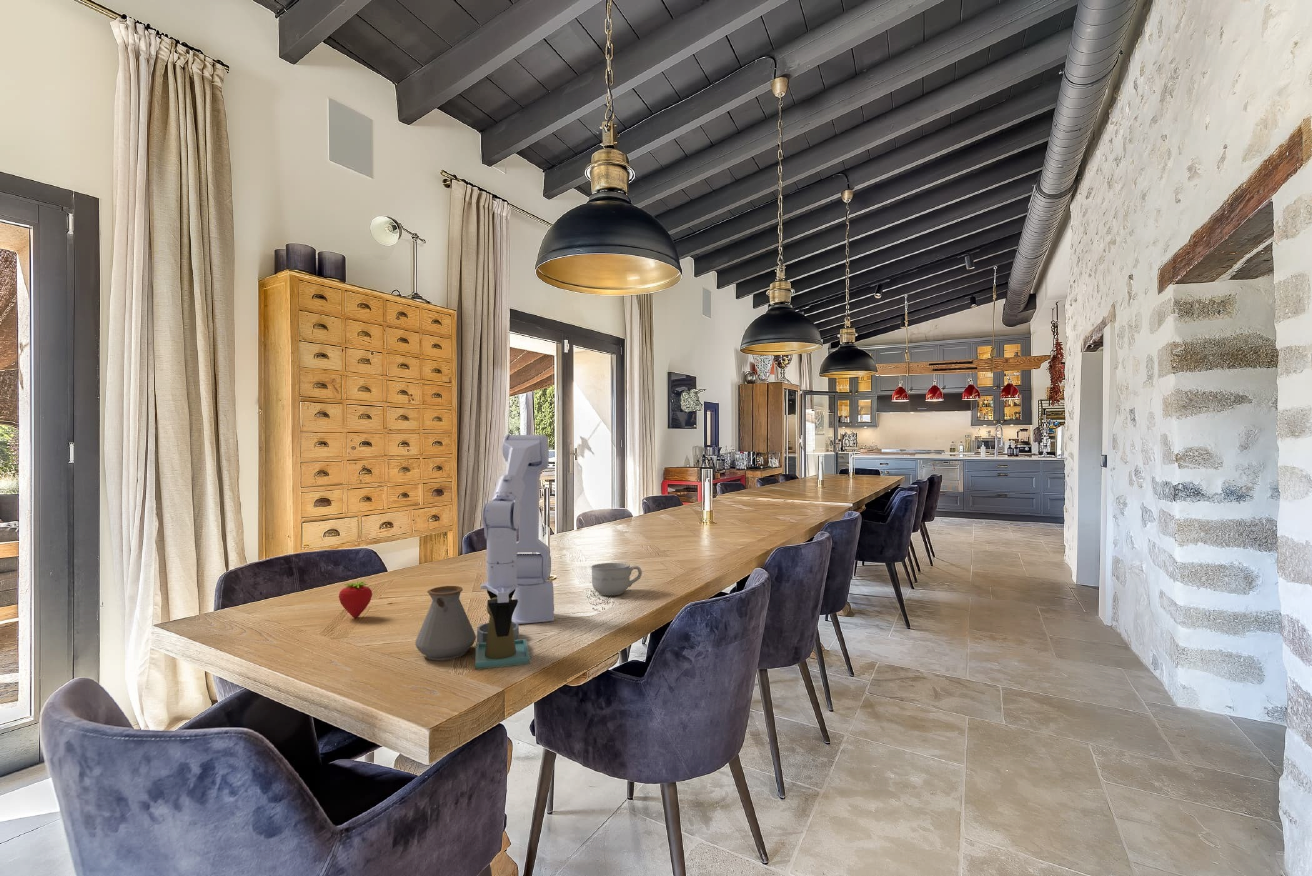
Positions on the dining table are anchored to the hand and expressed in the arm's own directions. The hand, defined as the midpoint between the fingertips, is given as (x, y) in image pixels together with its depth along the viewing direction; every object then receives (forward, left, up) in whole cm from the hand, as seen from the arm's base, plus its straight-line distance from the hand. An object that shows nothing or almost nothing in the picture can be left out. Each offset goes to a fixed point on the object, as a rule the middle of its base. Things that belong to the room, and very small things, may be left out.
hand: (502, 629), depth 119 cm
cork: (0, 0, -5) cm, 5 cm away
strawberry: (+33, -36, -5) cm, 50 cm away
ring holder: (0, -11, -5) cm, 12 cm away
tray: (0, 0, -5) cm, 5 cm away
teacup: (-32, -40, -6) cm, 52 cm away
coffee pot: (+11, 0, -5) cm, 12 cm away
